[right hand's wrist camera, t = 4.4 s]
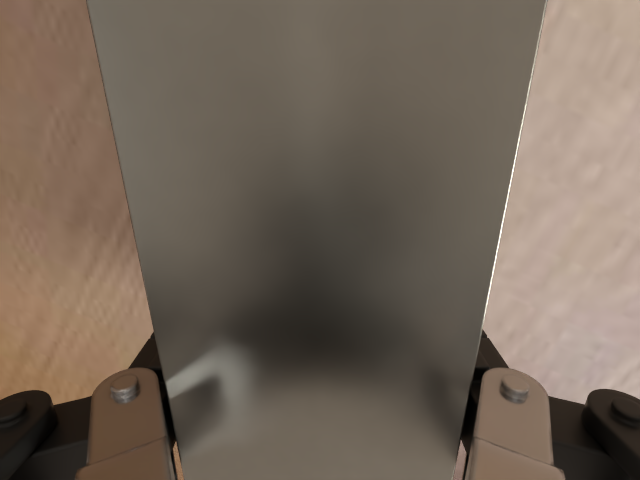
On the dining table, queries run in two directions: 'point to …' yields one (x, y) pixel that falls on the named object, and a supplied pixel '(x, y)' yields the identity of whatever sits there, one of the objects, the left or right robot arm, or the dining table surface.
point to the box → (317, 218)
